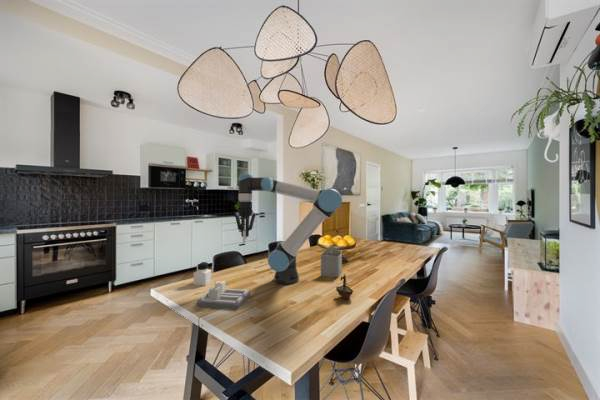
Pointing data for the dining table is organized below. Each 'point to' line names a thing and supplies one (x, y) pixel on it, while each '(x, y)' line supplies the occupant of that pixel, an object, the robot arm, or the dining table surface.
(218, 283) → the white taped box
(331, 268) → the planter
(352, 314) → the dining table surface
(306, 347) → the dining table surface
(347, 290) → the figurine
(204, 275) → the medicine bottle
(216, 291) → the fader
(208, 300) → the grey compartment tray
